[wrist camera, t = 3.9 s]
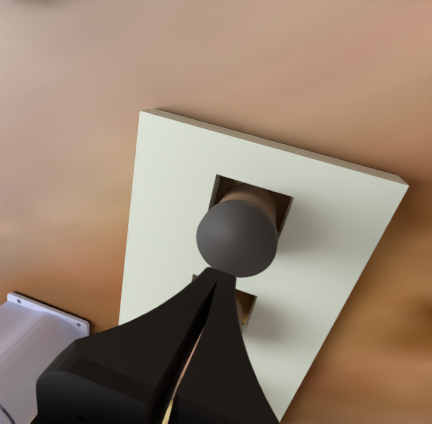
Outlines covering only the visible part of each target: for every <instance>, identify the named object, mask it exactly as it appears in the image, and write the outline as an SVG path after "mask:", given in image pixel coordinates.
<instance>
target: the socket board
mask: <svg viewBox="0 0 432 424" xmlns="http://www.w3.org/2000/svg"><path fill="white" fill-rule="evenodd" d="M221 176H224V177H228V178H231V179H235V180H238V181H241V182H245V183H248V184H251V185H255V186H258V187H261V188H265V189H268V190H271V191H275V192H278V193H281V194H285V195H288V196H291V199H290V202H289V205H288V207H287V210H286V213H285V216H284V218H283V221H282V224H281V227H280V229H279V232H278V245H277V252H276V255H275V258H274V260H273V262H272V263H271V265H270V266H269V267H268V268H267V269H266V270H264V271H263V272H261V273H260V274H257V275H255V276H251V277H246V278H237V280H236V289H238V290H241V291H243V292H246V293H249V294H252V295H255V298H254V301H253V304H252V306H251V309H250V312H249V314H248V317H247V320H246V323H245V325H242V324H241V327H240V328H241V332H242V336H243V340H244V343H245V347H246V350H247V353H248V356H249V359H250V362H251V364H252V367H253V369H254V372H255V374H256V377H257V379H258V382H259V384H260V386H261V388H262V390H263V392H264V394H265V397H266V398H267V400H268V402H269V404H270V406H271V408H272V410H273V412H274V413H275V415H276V417H277V419H278V421H279V422H280V421H281V419H282V417H283V415H284V413H285V411H286V410H287V408H288V406H289V404H290V402H291V400H292V399H293V397H294V395H295V393H296V391H297V390H298V388H299V386H300V384H301V382H302V380H303V379H304V377H305V375H306V373H307V371H308V369H309V368H310V366H311V364H312V362H313V360H314V359H315V357H316V355H317V353H318V351H319V349H320V348H321V346H322V344H323V342H324V340H325V338H326V337H327V335H328V333H329V331H330V329H331V328H332V326H333V324H334V322H335V320H336V318H337V317H338V315H339V313H340V311H341V309H342V307H343V306H344V304H345V302H346V300H347V298H348V297H349V295H350V293H351V291H352V289H353V287H354V286H355V284H356V282H357V280H358V278H359V276H360V275H361V273H362V271H363V269H364V267H365V266H366V264H367V262H368V260H369V258H370V256H371V255H372V253H373V251H374V249H375V247H376V246H377V244H378V242H379V240H380V238H381V236H382V235H383V233H384V231H385V229H386V227H387V225H388V224H389V222H390V220H391V218H392V216H393V215H394V213H395V211H396V209H397V207H398V205H399V204H400V202H401V200H402V198H403V196H404V194H405V193H406V191H407V189H408V187H409V185H408V184H407V183H406V182H405V181H403V180H402V179H401V178H400V177H399V176H398V175H394V174H391V173H387V172H383V171H380V170H376V169H373V168H369V167H365V166H362V165H358V164H354V163H351V162H347V161H343V160H340V159H336V158H333V157H329V156H325V155H322V154H318V153H314V152H311V151H307V150H304V149H300V148H296V147H293V146H289V145H285V144H282V143H278V142H275V141H271V140H267V139H264V138H260V137H256V136H253V135H249V134H246V133H242V132H238V131H235V130H231V129H227V128H224V127H220V126H217V125H213V124H209V123H206V122H202V121H198V120H195V119H191V118H187V117H184V116H180V115H177V114H173V113H169V112H166V111H162V110H158V109H155V108H153V109H148V110H142V111H140V117H139V127H138V137H137V147H136V157H135V167H134V177H133V187H132V197H131V207H130V217H129V227H128V237H127V247H126V257H125V266H124V276H123V286H122V296H121V306H120V316H119V325H121V324H124V323H126V322H128V321H131V320H133V319H135V318H137V317H139V316H141V315H143V314H145V313H147V312H149V311H151V310H152V309H154V308H156V307H157V306H159V305H161V304H162V303H164V302H165V301H167V300H168V299H170V298H171V297H173V296H174V295H175V294H177V293H178V292H180V291H181V290H182V289H183V288H185V287H186V286H187V285H188V284H189V283H191V282H192V281H193V280H194V279H195V278H196V277H197V275H199V274H200V273H201V272H202V271H203V270H204V269H205V268H206V267H211V266H209V265H208V264H207V263H206V261H205V260H204V259H203V257H202V256H201V254H200V252H199V250H198V247H197V242H196V233H197V228H198V225H199V223H200V221H201V220H202V218H203V217H204V216H205V214H206V213H207V212H208V211H209V209H211V208H212V207H213V206H214V203H215V199H216V195H217V191H218V186H219V182H220V178H221ZM211 268H212V267H211Z"/></svg>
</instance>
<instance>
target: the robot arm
mask: <svg viewBox="0 0 432 424" xmlns="http://www.w3.org/2000/svg"><path fill="white" fill-rule="evenodd" d="M236 280H237V278H236V276H235V275H232V274H229V273H226V272H223V271H220V270H217V269H214V268H211V267H206V268H205V269H204V270H203V271H202V272H201V273H200V274H199V275H198V276H197V277H196V278H195V279H194V280H193V281H192V282H191V283H189V284H188V285H187V286H186V287H185V288H183V289H182V290H181V291H180V292H178V293H177V294H175V295H174V296H173V297H171V298H170V299H168V300H167V301H165V302H164V303H162V304H161V305H159V306H157V307H156V308H154V309H152V310H151V311H149V312H147V313H145V314H143V315H141V316H139V317H137V318H135V319H133V320H131V321H128V322H126V323H124V324H121V325H119V326H116V327H113V328H111V329H108V330H106V331H103V332H100V333H96V334H93V335H89V328H90V325H89V323H88V322H87V321H85V320H83V319H80V318H78V317H75V316H72V315H70V314H67V313H65V312H62V311H60V310H57V309H55V308H52V307H49V306H47V305H44V304H42V303H39V302H37V301H34V300H32V299H29V298H26V297H24V296H21V295H19V294H16V293H13V292H10V293H9V294H8V295H7V299H8V301H7V302H5V303H4V304H3V305H1V306H0V424H29V423H30V421H31V420H32V419H33V418H34V416H35V415H36V414H37V413H38V414H37V416H36V417H35V418H34V419H33V421H32V422H31V423H30V424H162V423H163V420H164V417H165V415H166V412H167V409H168V407H169V404H170V401H171V399H172V396H173V393H174V391H175V388H176V386H177V383H178V380H179V378H180V376H181V374H182V371H183V369H184V367H185V365H186V363H187V361H188V359H189V357H190V355H191V353H192V351H193V349H194V347H195V345H196V343H197V341H198V339H199V341H198V343H197V345H196V348H195V350H194V352H193V355H192V357H191V359H190V361H189V364H188V366H187V368H186V370H185V373H184V375H183V377H182V379H181V381H180V384H179V386H178V388H177V390H176V392H175V396H174V400H173V404H172V408H171V412H170V416H169V420H168V424H279V421H278V419H277V417H276V415H275V413H274V412H273V410H272V408H271V406H270V404H269V402H268V400H267V398H266V397H265V394H264V392H263V390H262V388H261V386H260V384H259V382H258V379H257V377H256V374H255V372H254V369H253V367H252V364H251V362H250V359H249V356H248V353H247V350H246V347H245V343H244V340H243V336H242V332H241V328H240V323H239V317H238V311H237V303H236ZM203 328H204V329H203ZM202 330H203V331H202ZM201 332H202V333H201ZM200 334H201V336H200ZM199 336H200V338H199Z"/></svg>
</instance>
